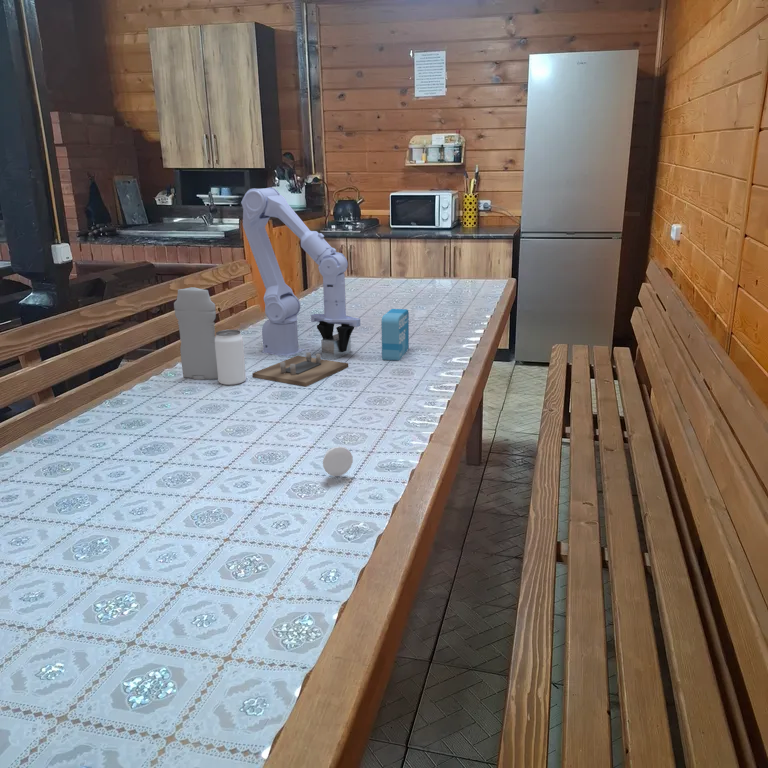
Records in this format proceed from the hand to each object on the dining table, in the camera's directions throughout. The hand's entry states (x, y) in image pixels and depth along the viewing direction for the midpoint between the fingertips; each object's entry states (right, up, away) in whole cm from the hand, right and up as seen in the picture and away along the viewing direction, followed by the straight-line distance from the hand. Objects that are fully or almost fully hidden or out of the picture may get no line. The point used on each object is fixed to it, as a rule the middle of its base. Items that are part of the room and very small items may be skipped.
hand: (336, 350), depth 181 cm
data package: (+16, -2, -1) cm, 16 cm away
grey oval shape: (+5, -24, -69) cm, 74 cm away
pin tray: (-8, -6, -14) cm, 17 cm away
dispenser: (-32, -8, -17) cm, 37 cm away
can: (-23, -9, -21) cm, 32 cm away
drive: (0, -1, 0) cm, 1 cm away
